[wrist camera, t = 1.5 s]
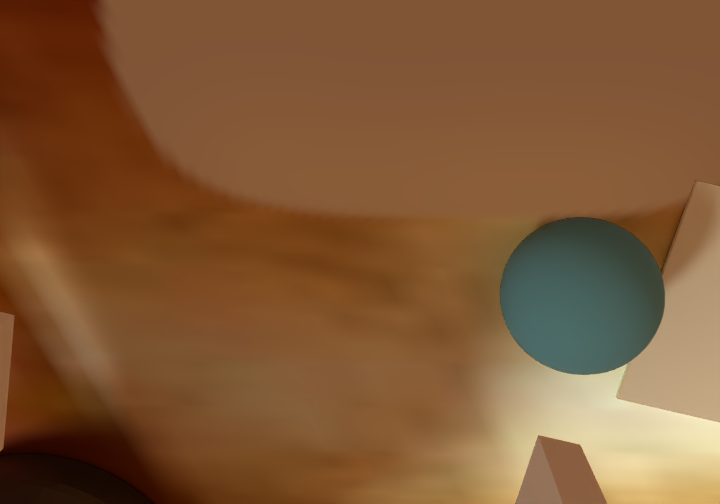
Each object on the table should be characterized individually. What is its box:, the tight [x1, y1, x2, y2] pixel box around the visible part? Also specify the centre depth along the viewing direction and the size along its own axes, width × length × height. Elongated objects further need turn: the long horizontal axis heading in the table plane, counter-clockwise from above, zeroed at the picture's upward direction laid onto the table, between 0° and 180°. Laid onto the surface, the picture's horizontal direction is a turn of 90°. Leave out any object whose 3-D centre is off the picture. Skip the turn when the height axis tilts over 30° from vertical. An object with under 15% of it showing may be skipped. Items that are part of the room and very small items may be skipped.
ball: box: [500, 217, 665, 375], centre depth 26 cm, size 6×6×6 cm
